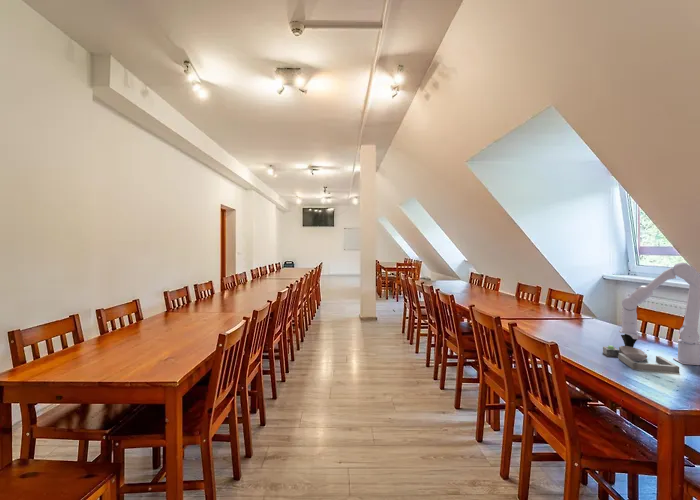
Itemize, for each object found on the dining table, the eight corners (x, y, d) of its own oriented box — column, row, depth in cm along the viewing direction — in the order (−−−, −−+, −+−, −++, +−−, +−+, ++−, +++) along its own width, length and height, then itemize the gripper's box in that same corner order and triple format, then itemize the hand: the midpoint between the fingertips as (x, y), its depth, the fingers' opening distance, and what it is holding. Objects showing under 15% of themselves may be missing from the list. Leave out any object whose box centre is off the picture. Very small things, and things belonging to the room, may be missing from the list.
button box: (614, 353, 181) (614, 347, 181) (619, 356, 176) (619, 350, 176) (602, 352, 182) (602, 346, 182) (606, 355, 178) (606, 349, 178)
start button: (612, 354, 180) (612, 345, 180) (614, 355, 178) (614, 346, 178) (607, 353, 181) (607, 345, 181) (609, 354, 179) (609, 346, 179)
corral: (659, 361, 169) (660, 356, 169) (679, 373, 154) (679, 367, 154) (618, 358, 173) (618, 353, 173) (633, 369, 158) (633, 363, 158)
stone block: (641, 359, 178) (616, 352, 182) (644, 349, 178) (619, 342, 182) (648, 367, 168) (621, 360, 172) (651, 357, 167) (624, 350, 171)
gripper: (613, 318, 189) (613, 346, 189) (626, 324, 175) (625, 354, 175) (630, 319, 187) (629, 347, 187) (644, 325, 173) (643, 355, 173)
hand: (629, 350), depth 181 cm, fingers closed
